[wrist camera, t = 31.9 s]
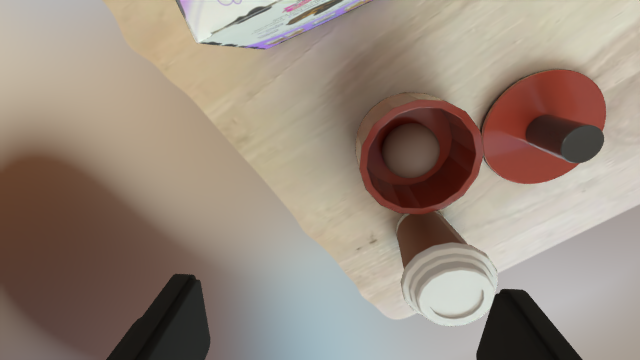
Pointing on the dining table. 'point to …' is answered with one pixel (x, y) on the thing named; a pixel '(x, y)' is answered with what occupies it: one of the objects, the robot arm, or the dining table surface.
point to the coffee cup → (443, 271)
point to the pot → (450, 169)
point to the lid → (544, 126)
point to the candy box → (258, 19)
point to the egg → (410, 150)
